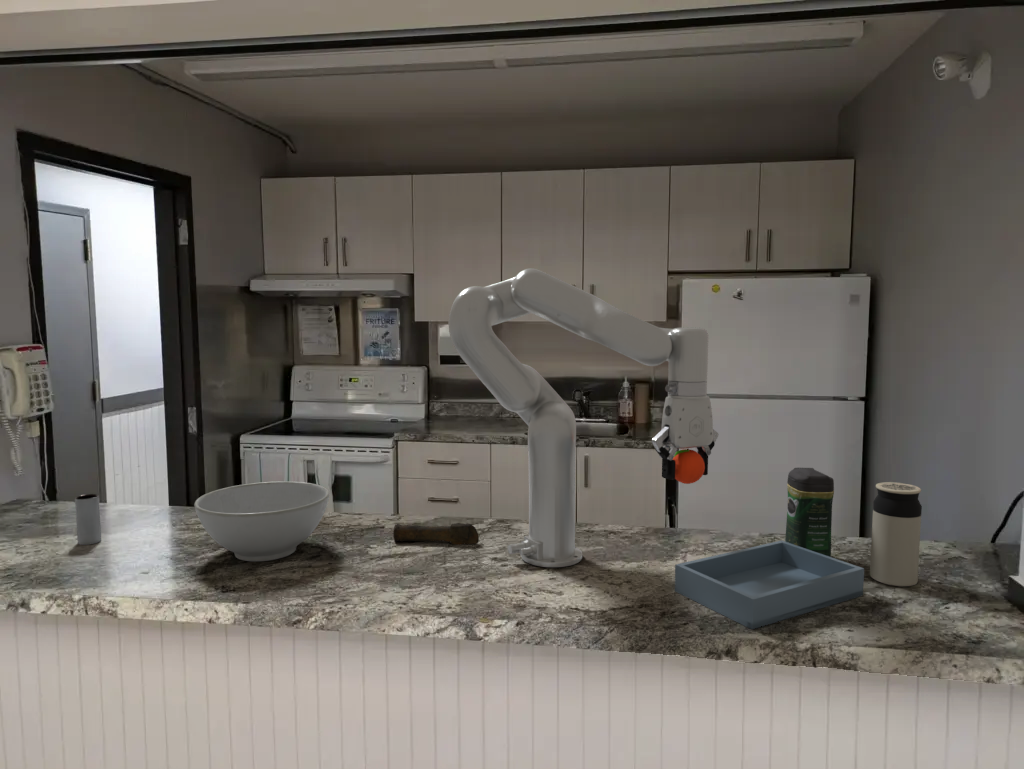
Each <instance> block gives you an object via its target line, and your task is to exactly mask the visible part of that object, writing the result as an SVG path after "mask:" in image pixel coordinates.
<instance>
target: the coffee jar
mask: <svg viewBox="0 0 1024 769" xmlns="http://www.w3.org/2000/svg"><path fill="white" fill-rule="evenodd" d="M787 476H788V477H787V482H786V484H787V485H786V486H787V487H786V488H787V489H786V490H787V506H786V507H787V510H786V522H785V524H786V525H785V526H786V527H785V536H784V537H785V538H784V541H785V542H788V543H791V544H794V545H797V546H800V547H802V548H805V549H808V550H811V551H814V552H817V553H820V554H823V555H826V556H829V557H832V522H833V502H834V501H833V500H834V495H835V482H834V481H835V480H834V478H833V477H831V476H829V475H827V474H825V473H823V472H821V471H819V470H816V469H815V468H813V467H794V468H793V469H791V470H790V471H789V472H788V475H787Z"/></svg>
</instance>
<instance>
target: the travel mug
mask: <svg viewBox="0 0 1024 769" xmlns="http://www.w3.org/2000/svg"><path fill="white" fill-rule="evenodd" d="M875 488H876V489H877V490H876V491H877V495H876V497H875V498H874V499H873V505H872V506H873V507H872V520H871V521H872V522H871V523H872V527H871V542H870V543H871V544H870V545H871V547H870V559H869V560H870V565H869V576H870V577H871V579H874V580H875V581H876V582H878V583H881V584H883V585H888V586H891V587H903V588H904V587H911V586H914V585H917V583H918V579H919V564H920V562H919V561H920V547H921V546H920V544H921V530H922V529H921V526H922V525H921V524H922V504H921V502H920V500H919V497H920V496H919V495H920V493H921V492H922V488H920V487H919V486H917V485H914V484H908V483H902V482H895V481H894V482H893V481H888V482H887V481H886V482H883V481H882V482H879V483H878V482H877V483H876V484H875Z"/></svg>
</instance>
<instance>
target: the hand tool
mask: <svg viewBox="0 0 1024 769" xmlns="http://www.w3.org/2000/svg"><path fill="white" fill-rule="evenodd" d="M479 537H480V536H479V533H478V531H477V528H476V527H475V526H474V525H473V524H472V523H463V522H462V523H461V522H457V523H452V524H450V526H443V525H442V526H435V525H434V526H431V525H430V526H429V525H427V526H425V525H411V524H409V525H408V524H407V525H405V524H404V525H402V524H400V523H396V524H394V527H393V541H394V542H395V543H396V542H398V541H400V542H402V543H403V542H404V541H406V542H407V541H409V542H410V541H413V542H414V541H417V542H418V541H420V542H421V541H422V542H446V543H450V544H451V545H453V546H462V545H463V546H465V545H474V544H478V543H479V540H480V538H479Z"/></svg>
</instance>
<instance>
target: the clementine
mask: <svg viewBox="0 0 1024 769" xmlns="http://www.w3.org/2000/svg"><path fill="white" fill-rule="evenodd" d="M672 460H675V479H674V480H676V481H677V482H679V483H681V484H686V485H689V484H695V483H696V482H698V481H699V480H700V479H701V478H702V477H703V476H704V475H703V473H704V470H705V463H704V461H703V458H702V457H701V456H700V454H698V452H697V450H694V449H690V448H686V449H678V450H677V452H676V454H675V456H674V458H673V459H672Z"/></svg>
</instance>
